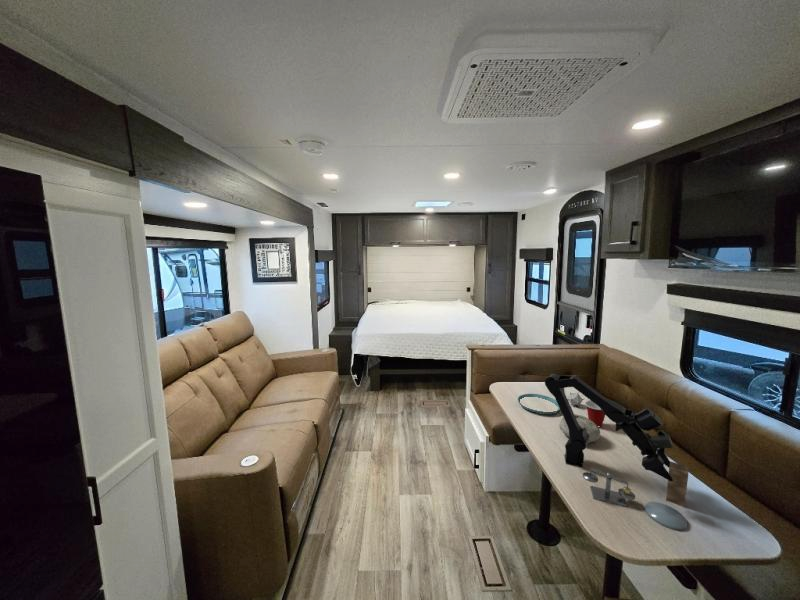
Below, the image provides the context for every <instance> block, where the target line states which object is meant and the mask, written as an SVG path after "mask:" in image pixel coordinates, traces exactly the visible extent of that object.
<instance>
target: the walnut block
mask: <svg viewBox="0 0 800 600" xmlns="http://www.w3.org/2000/svg"><path fill="white" fill-rule="evenodd" d="M669 461H670V460H669ZM668 468H669V469H668V473H669V474H670V476H671V477H672V479H673V481H669V480H667V483H666V492H665V493H666V494H665V498H666V499H665V500H666V502H670V503H673V504H675V505H677V506H680V507H681V508H685V506H686V496H687V489H688V480H689V466H687V465H683V464H680V463H677V462H673V461H672V460H671V461H670V466H669V467H668Z"/></svg>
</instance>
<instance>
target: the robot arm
mask: <svg viewBox="0 0 800 600" xmlns="http://www.w3.org/2000/svg"><path fill="white" fill-rule="evenodd" d="M544 386H545V387H546V389H547V390H548V391H549V393H550V394H551V395H552V396H553V397H554V399H555V400H556V401H557V403H558V406H559V408H560V410H559V411H560V412H561V415H562V418H563V417H564V419H565V421H566V424H567V426H568V428H569V438H568V440H567V441H566V443H565V445H564V448H565V453H564V461H565V464H567V465H569V466H570V465H571V466H575V467H580V468H583V467H584V462H585V461H584V460H585V453H584V450H585V449H586V448H587V446H588V444H589V443H588V442H589V437H590V435H589V434H588V433H587V430H586V428H585V427H584V428H582V427H581V426H580V425H579V424H578V422H577V419H576V417H575V415H574V414H575V413H574V411H573V408H572V405H571V403H570V402H569V401H568V397H567V395H566V393H565V388H573V389H575V390H576V391H577V392H578V393H580V394H582V395H583V396H584V397H586V398H587V399H588V400H591V401H592V402H594V403H595V404H596V405H598V406H599V407H600V408H601V410H602V411H603V412H604V414H605V416H606V417H607V418H609V420H610V421H612V422H613V423H615V424H614V425H615V431H616V432H618V431H621V430H622V431H623V432H624V434H625V435H626V436H627V437H628V438H629V440H631V444H632V446H634V447H637V449H639V451H640V455H641V456H642V460H641V466H642V467H643V468H644V469H645V470H646V471H650V472H652V473H654V474H656V475H658V476H660V477H662V478H664V480H667V481H668V480H669V481H673V479H672V477H671V476H670V474H669V470H668V469H667V468H669V466H670V458H668V456H667V454H666V452H665V449H673V447H674V443H673V441H672V439H671V435H669V433H667V432H665V431H664V430H663V429H662V430H657V434H654V435H651V434H650V433H649V431H651V430H654V429H657V428H658V427H661V426H663V425H664V423H663V421H662V418H660V416H659V415H658V414H657V413H655V412H654V411H653V410H650V408H649V407H645V408H644V409H642V410H640V411H639V412H637V411H634V410H631V409H629V408H626V407H625V406H624V405H622V404H620V403H618V402H616V401H615V400H612V399H609V398H608V397H605V396H604V395H602V394H601V393H600V392H598V390H596V389H594V388H593V387H592V386H590V385H589V384H588V383H586V382H585V381H583V380H582V379H580V377H579V376H578V375H565V374H557V373H551V374H550V375H549V376H547V377H546V379H545V380H544ZM645 431H647V432H645ZM666 467H667V468H666Z"/></svg>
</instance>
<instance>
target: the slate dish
mask: <svg viewBox="0 0 800 600" xmlns="http://www.w3.org/2000/svg"><path fill="white" fill-rule="evenodd" d="M644 510H645V513H646V514H647V516H648V517H649V518H650V519H652V521H654V522H656V523H657V524H659V525H660V526H662V527H665V528H668V529H670V530H675V531H683V530H685V529H686V528H687V526H688V521H687V520H688V519H686V517H685V516H684V515H683V514H682V513H681V512H680V511H678V510H677V509H676V508H674V507H672V506H669V505H667V504H664V503H662V502H658V501H648V502H647V503H645V507H644Z"/></svg>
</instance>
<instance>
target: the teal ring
mask: <svg viewBox="0 0 800 600" xmlns="http://www.w3.org/2000/svg"><path fill="white" fill-rule="evenodd" d="M524 397H538V398H542V399H545V400H548V401H550V402H552V403H554V404H555V405H556V406H557V407H558V410H557V411H553V412H543V411H537V410H533V409H530V408H527V407H525V406H523V405H522V404H521V403H520V399H522V398H524ZM517 402H518V403H519V405H520V406H521V407H522V408H523V409H525V410H526V409H527V411H528V410H529V412H530V411H532V412H531V413H533V412H536V413H535V414H537V413H541V414H540V415H544V414H549V415H554V414H556V413H558V412H559V411H561V410H560V408H559V406H558V403H557V401H556V399H555V398H553V397H550V396H547V395H545V394H544V395H542V394H539V393H524V394H521V395H519V396H518V397H517ZM553 413H554V414H553Z"/></svg>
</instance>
